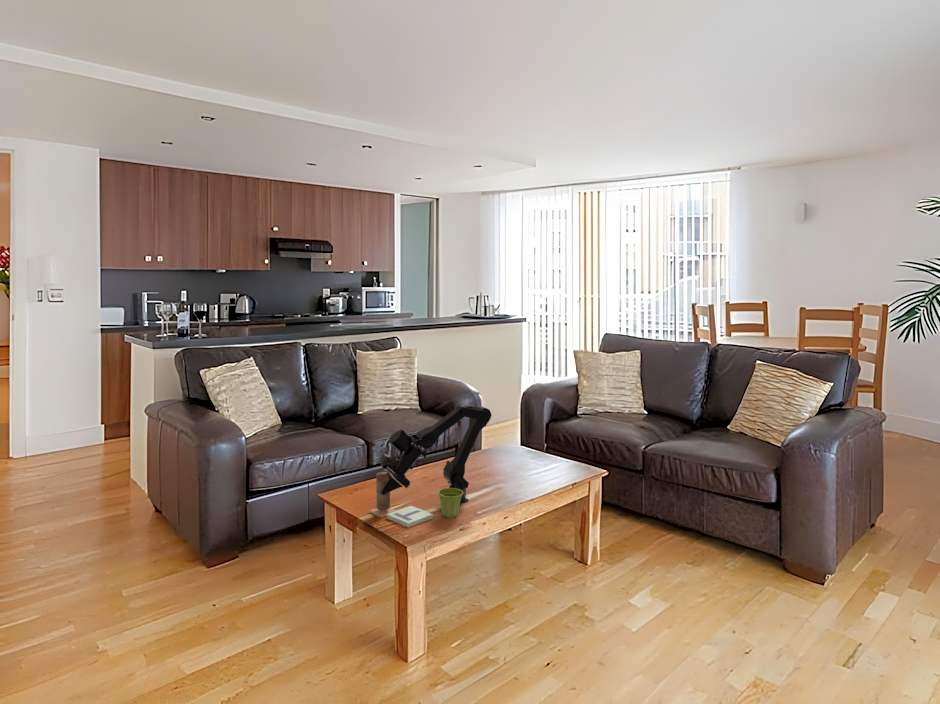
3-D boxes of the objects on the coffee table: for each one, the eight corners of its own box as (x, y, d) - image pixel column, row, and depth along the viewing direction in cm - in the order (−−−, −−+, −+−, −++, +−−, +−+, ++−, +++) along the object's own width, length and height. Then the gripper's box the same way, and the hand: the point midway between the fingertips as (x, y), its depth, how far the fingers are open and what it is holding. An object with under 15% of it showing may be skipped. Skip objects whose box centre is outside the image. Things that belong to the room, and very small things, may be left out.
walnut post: (387, 504, 241) (387, 471, 239) (391, 508, 236) (391, 475, 235) (374, 506, 239) (374, 472, 237) (378, 510, 234) (378, 476, 232)
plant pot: (462, 509, 242) (463, 487, 241) (463, 519, 232) (463, 496, 231) (438, 509, 241) (438, 487, 240) (437, 519, 232) (437, 496, 231)
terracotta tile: (384, 507, 243) (384, 505, 242) (396, 512, 238) (396, 510, 238) (369, 512, 237) (369, 510, 237) (381, 517, 233) (381, 515, 233)
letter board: (411, 509, 241) (411, 505, 241) (433, 518, 233) (433, 514, 233) (386, 518, 232) (386, 514, 232) (408, 527, 224) (408, 523, 224)
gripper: (385, 440, 244) (357, 471, 241) (401, 452, 228) (372, 486, 224) (404, 457, 249) (377, 488, 246) (422, 471, 232) (393, 504, 229)
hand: (379, 491), depth 236 cm, fingers closed on walnut post, 5 cm apart
